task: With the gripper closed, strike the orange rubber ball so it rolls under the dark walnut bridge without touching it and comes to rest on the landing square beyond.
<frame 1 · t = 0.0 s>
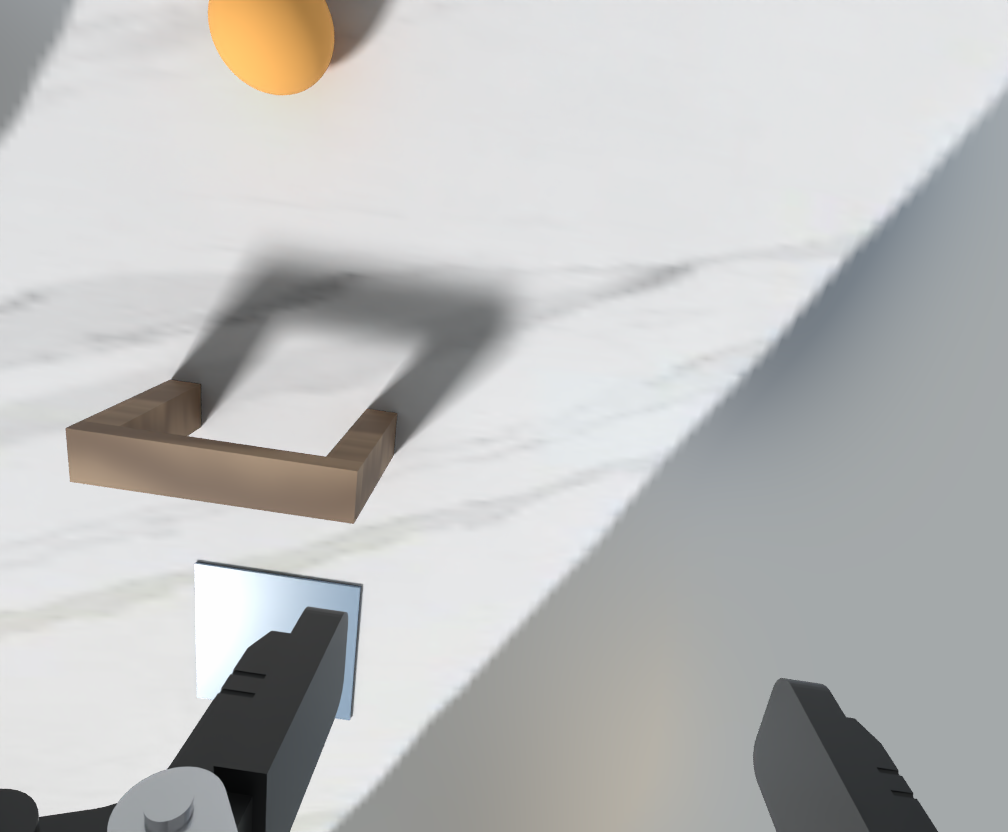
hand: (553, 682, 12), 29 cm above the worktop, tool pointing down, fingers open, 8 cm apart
ball: (273, 28, 32), on the worktop
bridge: (283, 417, 42), on the worktop
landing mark: (276, 643, 47), on the worktop
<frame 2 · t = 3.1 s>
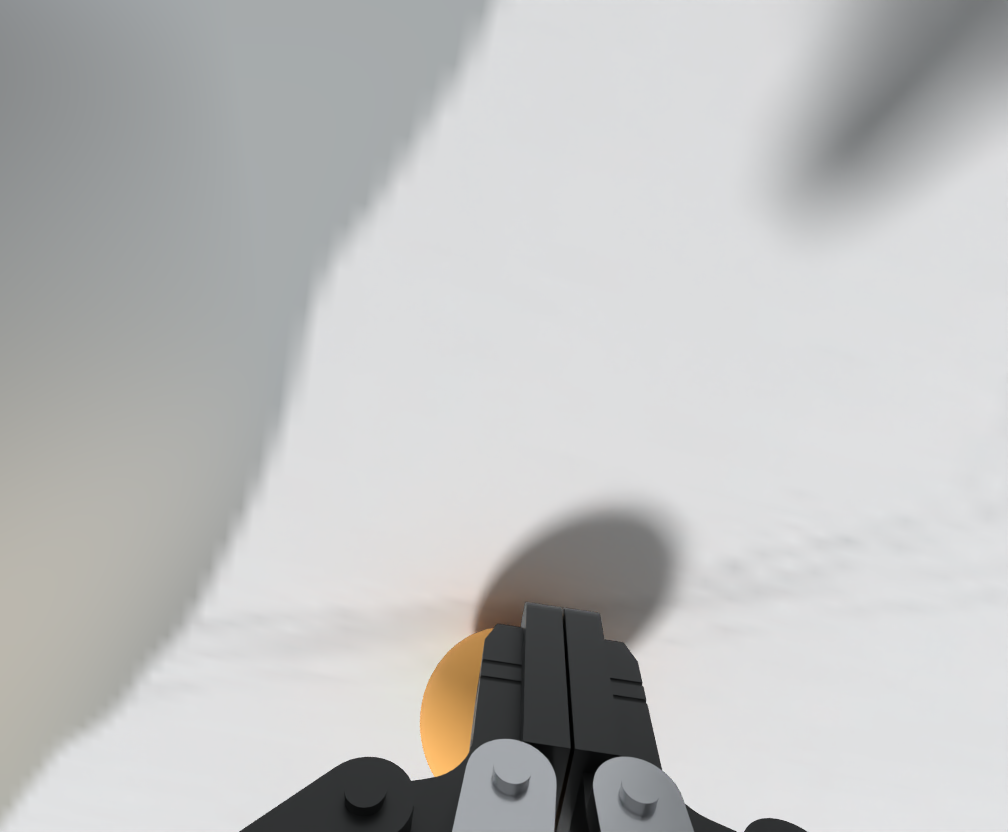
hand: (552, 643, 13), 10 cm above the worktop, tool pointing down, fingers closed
ball: (507, 717, 22), on the worktop
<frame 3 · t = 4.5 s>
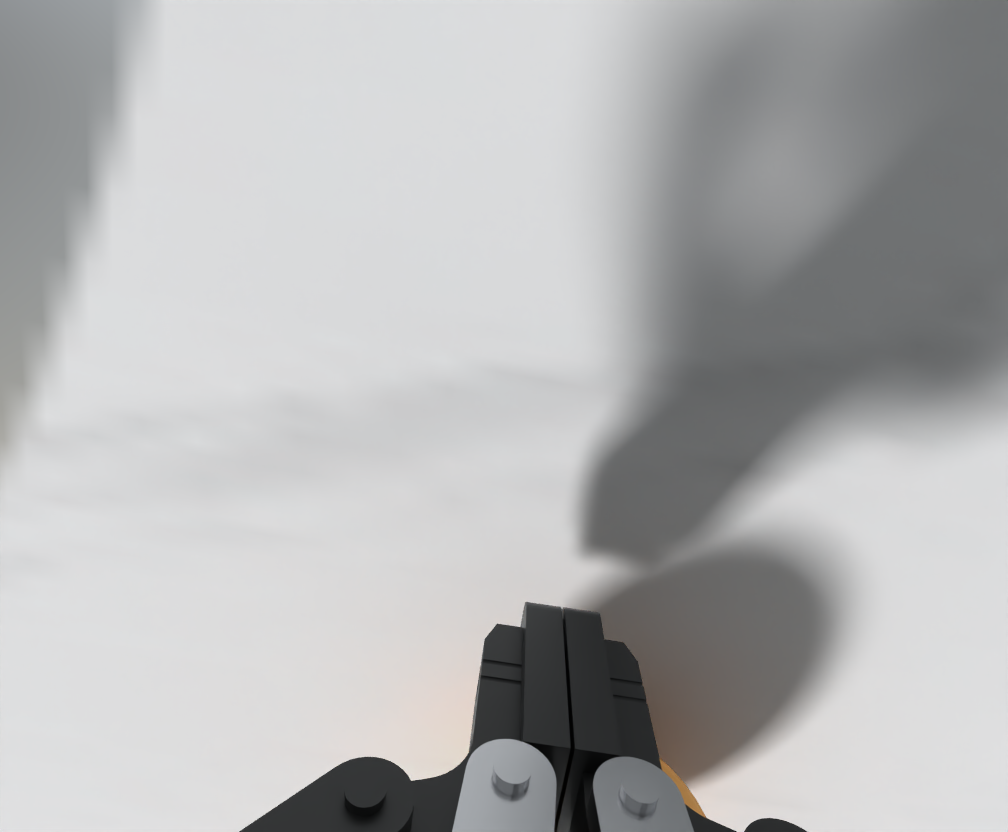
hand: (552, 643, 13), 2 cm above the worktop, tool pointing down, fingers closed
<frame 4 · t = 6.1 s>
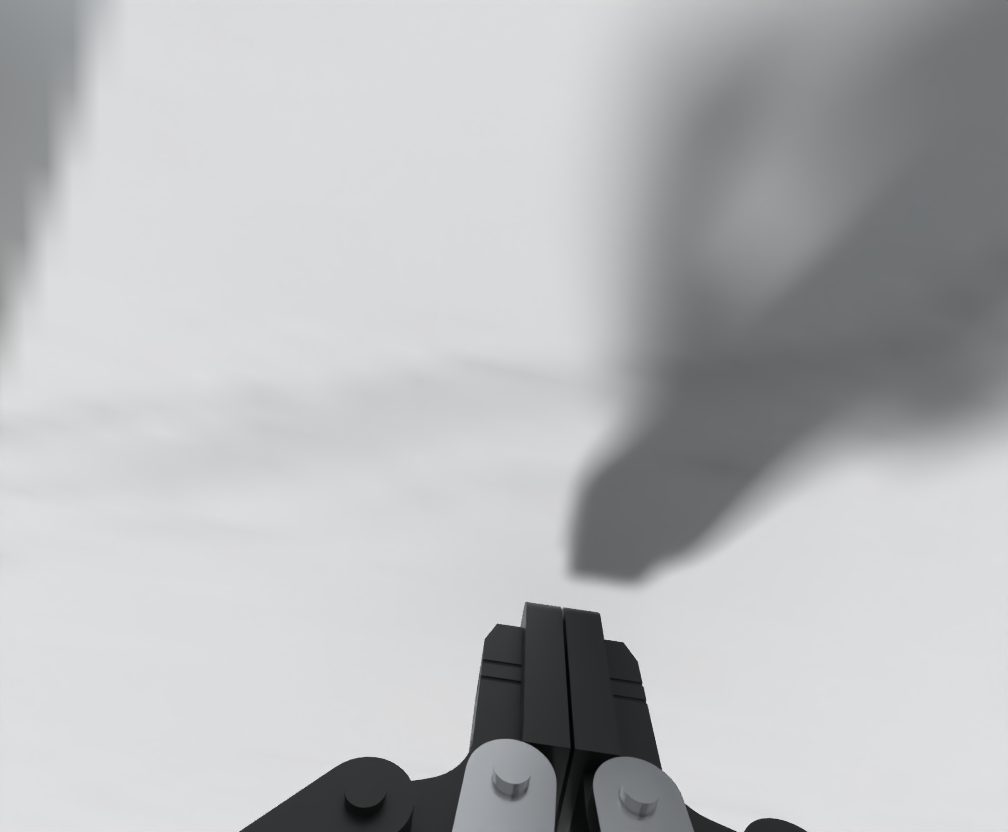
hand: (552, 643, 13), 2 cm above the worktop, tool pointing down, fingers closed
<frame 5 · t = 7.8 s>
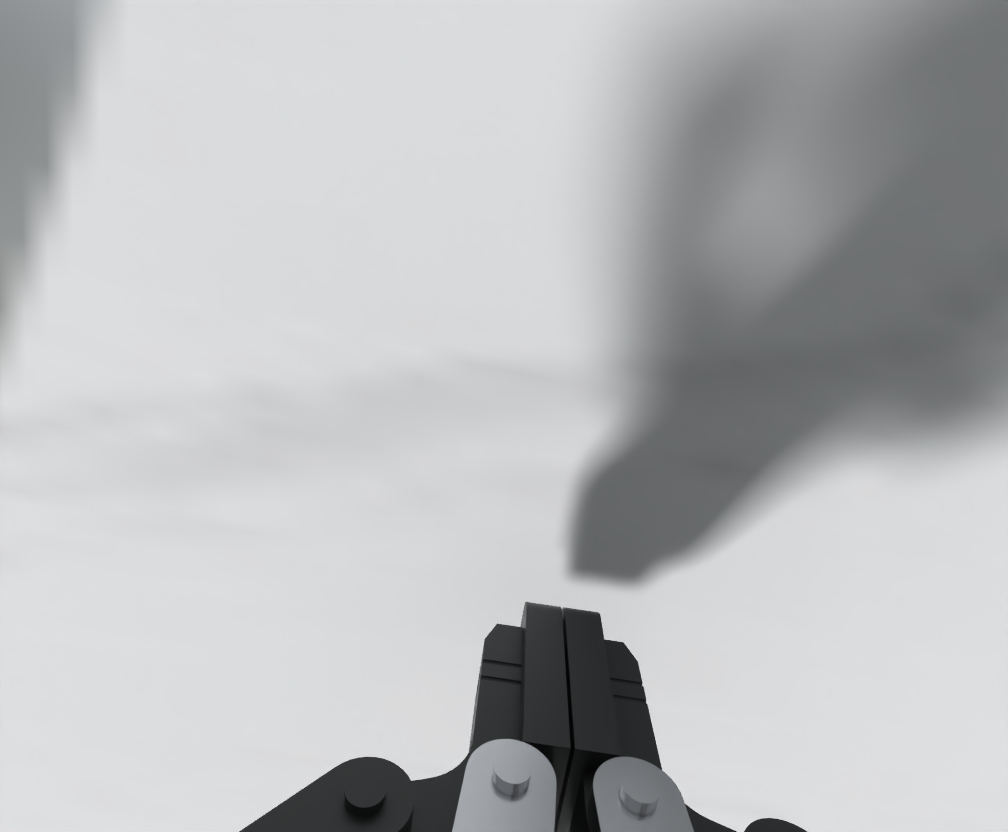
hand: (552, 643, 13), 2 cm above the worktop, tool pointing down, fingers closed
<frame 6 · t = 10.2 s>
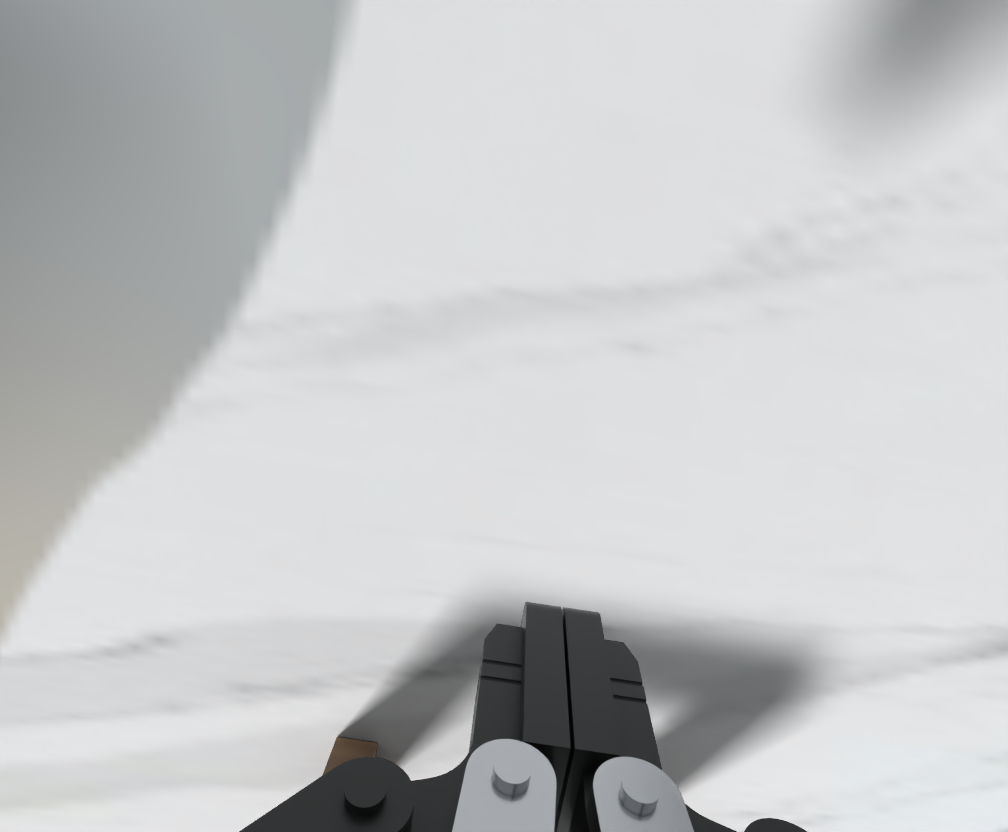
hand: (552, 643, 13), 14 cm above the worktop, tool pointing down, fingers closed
bridge: (483, 782, 32), on the worktop
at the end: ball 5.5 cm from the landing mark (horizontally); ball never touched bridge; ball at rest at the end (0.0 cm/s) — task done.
